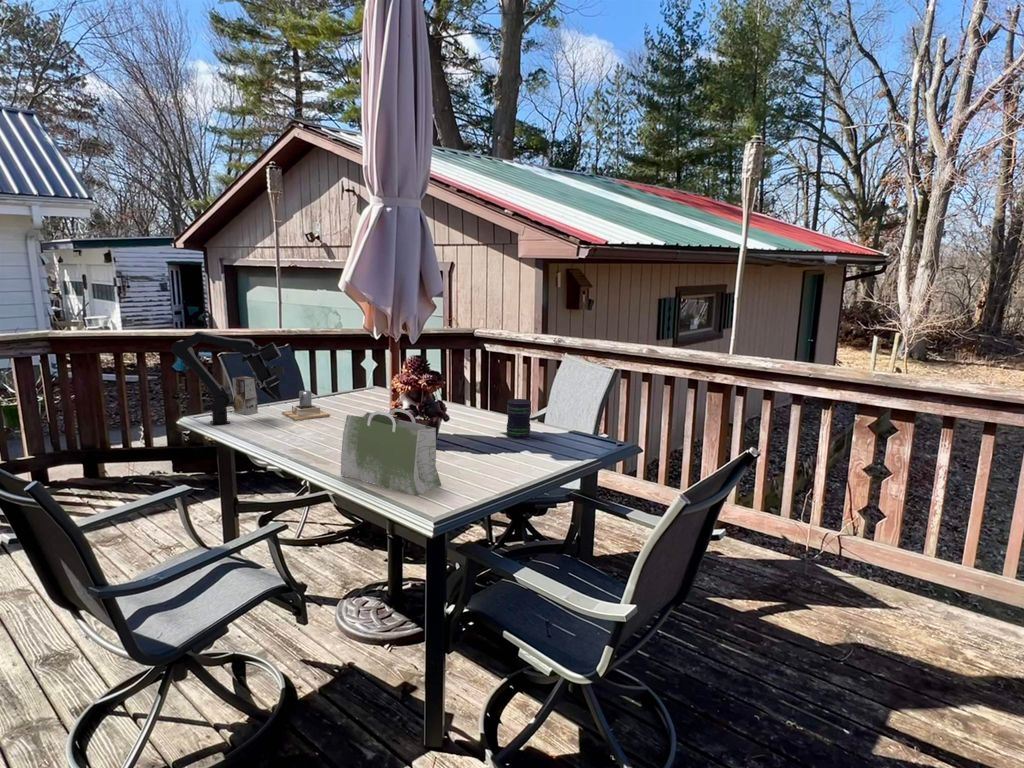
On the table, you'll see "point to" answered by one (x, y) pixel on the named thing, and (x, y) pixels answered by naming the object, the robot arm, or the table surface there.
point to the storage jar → (518, 418)
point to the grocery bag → (390, 452)
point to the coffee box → (245, 395)
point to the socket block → (305, 413)
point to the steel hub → (305, 399)
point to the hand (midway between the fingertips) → (277, 399)
